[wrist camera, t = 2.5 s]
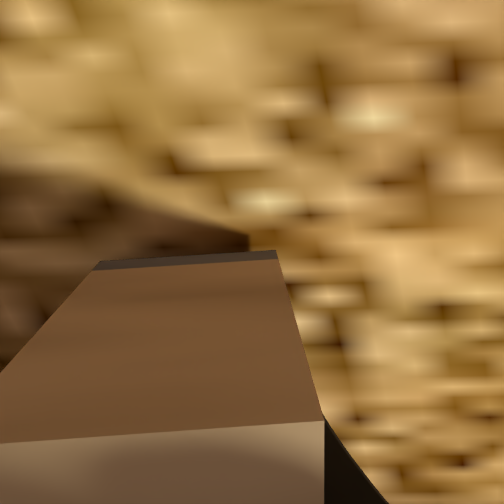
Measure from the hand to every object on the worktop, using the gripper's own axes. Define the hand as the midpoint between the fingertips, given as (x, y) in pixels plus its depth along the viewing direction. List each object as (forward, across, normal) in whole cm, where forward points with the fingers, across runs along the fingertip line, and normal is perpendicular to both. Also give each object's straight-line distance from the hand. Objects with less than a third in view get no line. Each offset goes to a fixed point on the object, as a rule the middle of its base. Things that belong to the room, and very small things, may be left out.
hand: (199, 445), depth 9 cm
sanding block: (+2, 0, 0) cm, 2 cm away
